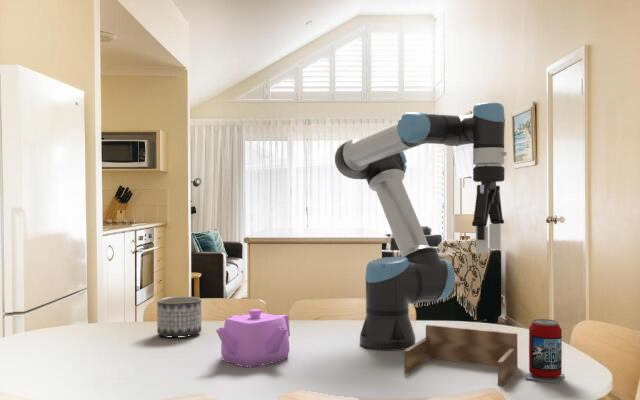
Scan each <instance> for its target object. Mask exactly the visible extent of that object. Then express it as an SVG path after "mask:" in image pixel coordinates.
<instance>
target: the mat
mask: <svg viewBox="0 0 640 400" xmlns="http://www.w3.org/2000/svg"><path fill="white" fill-rule="evenodd" d="M564 377H565V374H564V373H561V375H560V376H558V377H557V378H554V379H543V378H538V377H536V376H534V375H533V374H532V373H530V372H529V373H528V374H527V375H526V377H525V381H531V382H539V383H545V384H553V383H554V385H561V383H562V381H563V380H564V379H563V378H564Z"/></svg>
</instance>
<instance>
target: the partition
mask: <svg viewBox="0 0 640 400" xmlns="http://www.w3.org/2000/svg"><path fill="white" fill-rule="evenodd" d="M403 350H404V352H403V354H404V359H403V360H404V362H403V363H404V365H403V366H404V373H406V374H409V373H411V372H412V371H413V370H415V369H417V368H418V367H419V366H420V365H422V364H423V363H425V362H426V361H427V360H429V359H435V360H442V361H443V360H445V361H453V362H461V363H470V364H478V365H485V366H495V367H497V385H498V386H504V385H505V383H506V382H507V381H508V380H509V378H511V376H512V375H513V374H514V373H515V371H516V370H517V369H518V332H507V331H498V330H487V329H477V328H464V327H455V326H447V325H446V326H445V325H444V326H443V325H436V324H435V325H433V324H426V325H425V337H424V338H421V340H419V341H417V342H415V344H414V345H412V346H411V347H409V348H407V349H403Z"/></svg>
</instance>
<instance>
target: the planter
mask: <svg viewBox="0 0 640 400" xmlns="http://www.w3.org/2000/svg"><path fill="white" fill-rule="evenodd" d="M156 302H157V303H156V311H157V312H156V316H157V317H156V319H157V321H156V322H157V324H156V325H157V329H156V330H157V331H156V333H157V334H158V335H160V336H163V337H166V336H172V337H178V336H188V335H192V336H193V335H197V334H199V333H201V331H202V299H201V298H200V297H196V296H172V297H171V296H170V297H163V298H160V299H158V300H157V301H156Z"/></svg>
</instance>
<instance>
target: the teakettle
mask: <svg viewBox="0 0 640 400" xmlns="http://www.w3.org/2000/svg"><path fill="white" fill-rule="evenodd" d="M215 331H216V333H217V335H218V337H219V340H220V342H221V346H220V351H221V353H220V354H221V357H222V360H223V359H224V360H226V361H225V362H227V361H229V362H228V363H230V362H232V363H231V364H233V363H235V364H234V365H236V364H239V365H242V366H241V367H243V366H248V367H247V368H251V367H250V366H256V367H258V366H257V365H261V366H263V365H262V364H266V365H268V364H267V363H270V364H272V363H271V362H274V363H276V362H275V361H277V362H280V361H279V360H281V361H283V360H282V359H284V360H286V358H287V359H288V357H289V355H290V336H291V332H290V321H289V315H286V314H279V315H276V314H271V313H265V312H262V309H259V308H258V309H257V308H253V309H249V310H248V314H240V315H238V314H237V315H231V316H229V317H227V318H226V319H225V321H224V325H223V326H222V327H221V326H220V327H219V328H216V329H215ZM224 360H223V361H224ZM239 365H238V366H239Z"/></svg>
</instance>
